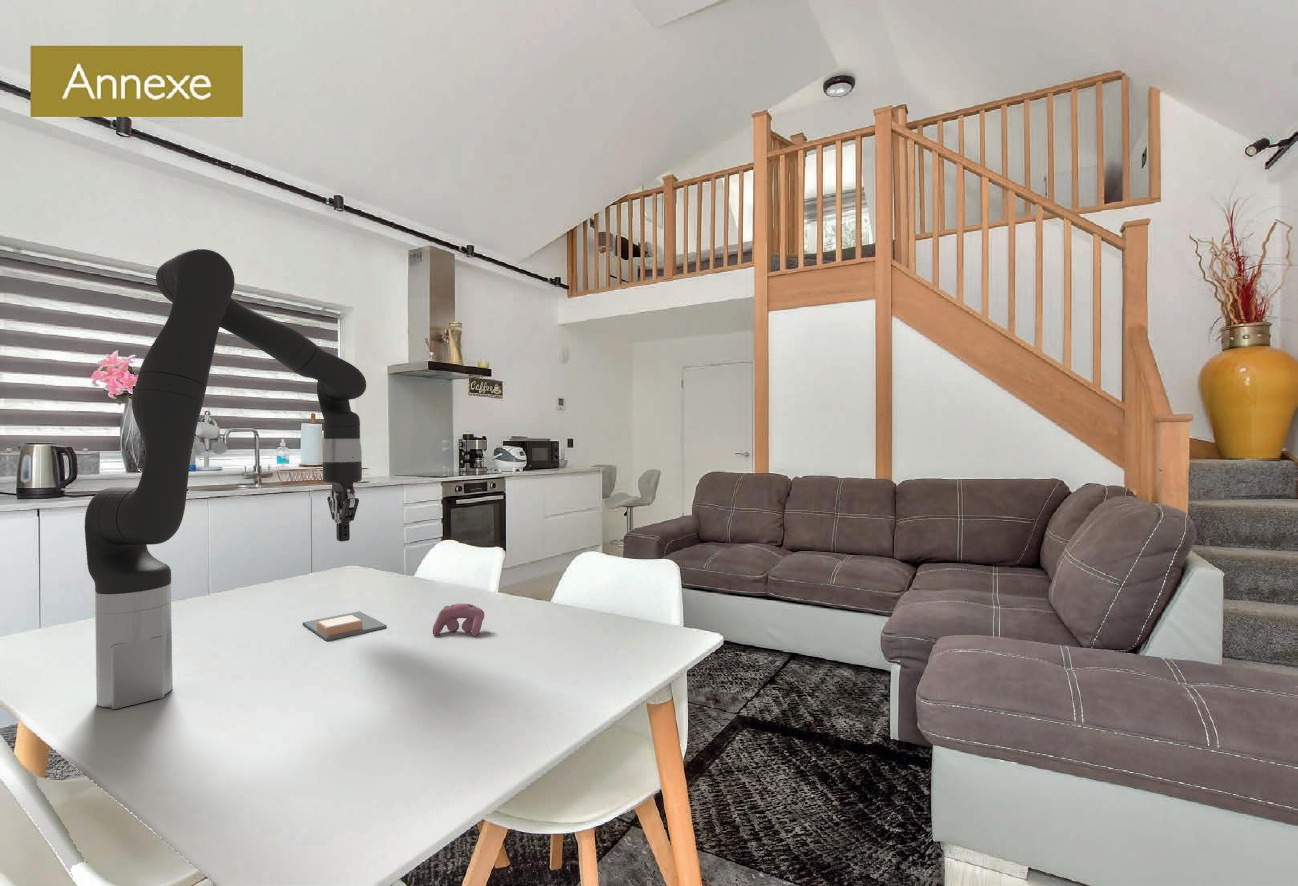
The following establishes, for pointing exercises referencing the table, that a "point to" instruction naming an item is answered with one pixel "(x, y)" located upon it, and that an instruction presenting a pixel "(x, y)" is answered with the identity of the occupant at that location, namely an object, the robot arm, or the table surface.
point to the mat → (367, 626)
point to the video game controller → (456, 611)
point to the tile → (339, 625)
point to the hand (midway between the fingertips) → (343, 540)
